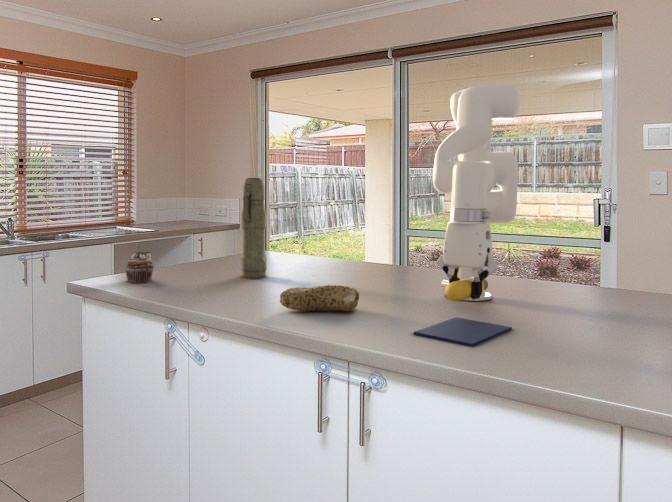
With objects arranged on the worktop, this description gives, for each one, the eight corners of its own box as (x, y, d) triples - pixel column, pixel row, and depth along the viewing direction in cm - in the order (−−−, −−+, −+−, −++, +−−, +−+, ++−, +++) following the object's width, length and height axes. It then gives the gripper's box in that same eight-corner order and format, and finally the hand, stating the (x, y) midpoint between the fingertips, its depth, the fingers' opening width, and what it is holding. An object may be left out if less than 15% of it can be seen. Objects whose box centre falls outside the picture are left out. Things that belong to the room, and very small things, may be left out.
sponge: (356, 311, 164) (287, 292, 168) (362, 285, 161) (292, 267, 165) (348, 331, 152) (274, 310, 156) (354, 303, 149) (279, 283, 153)
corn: (473, 292, 144) (474, 274, 143) (491, 294, 140) (491, 276, 140) (441, 301, 133) (442, 281, 132) (459, 304, 129) (460, 284, 129)
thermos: (235, 278, 210) (235, 178, 205) (248, 273, 221) (248, 177, 216) (259, 279, 206) (259, 177, 202) (271, 274, 217) (271, 178, 213)
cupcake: (131, 278, 209) (130, 249, 208) (157, 278, 208) (157, 250, 207) (120, 283, 200) (119, 253, 199) (148, 283, 199) (147, 253, 197)
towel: (413, 334, 135) (413, 331, 135) (456, 319, 149) (456, 317, 149) (472, 346, 125) (472, 343, 125) (511, 329, 139) (511, 327, 139)
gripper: (512, 217, 130) (508, 299, 133) (442, 214, 142) (439, 290, 144) (497, 219, 125) (493, 304, 127) (425, 215, 137) (423, 294, 139)
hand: (464, 296), depth 136 cm, fingers closed on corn, 4 cm apart
